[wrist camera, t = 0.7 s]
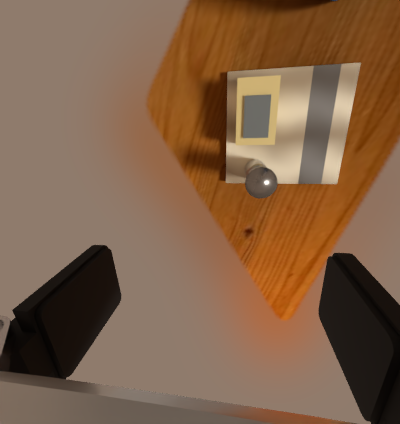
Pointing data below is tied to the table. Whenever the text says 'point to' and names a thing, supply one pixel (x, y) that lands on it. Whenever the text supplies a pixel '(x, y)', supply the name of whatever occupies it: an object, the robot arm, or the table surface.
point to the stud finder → (257, 110)
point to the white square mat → (298, 124)
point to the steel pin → (259, 179)
